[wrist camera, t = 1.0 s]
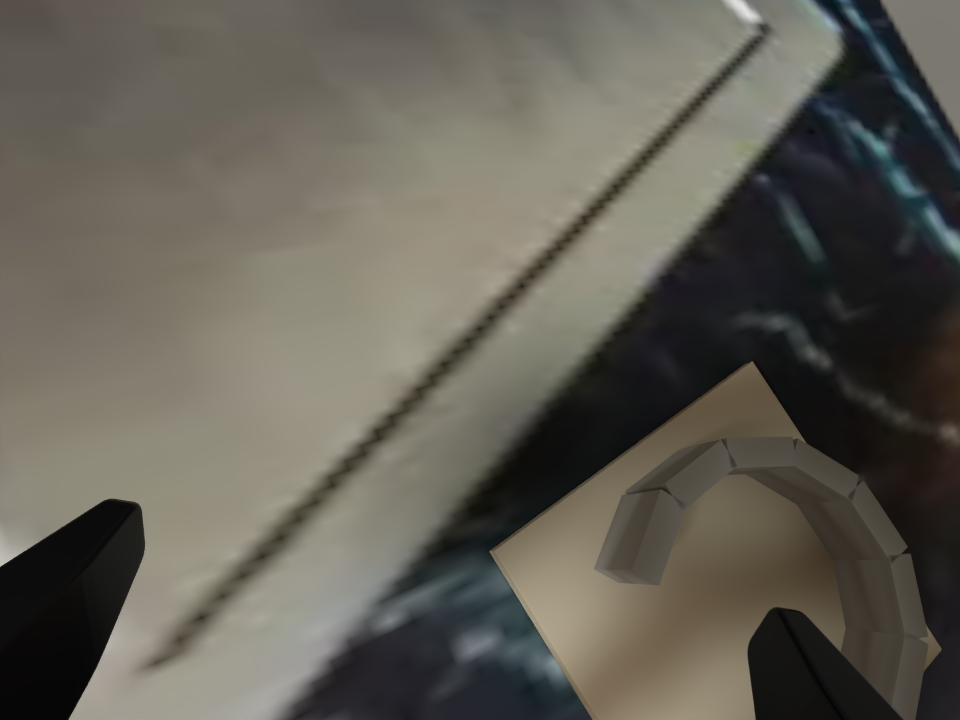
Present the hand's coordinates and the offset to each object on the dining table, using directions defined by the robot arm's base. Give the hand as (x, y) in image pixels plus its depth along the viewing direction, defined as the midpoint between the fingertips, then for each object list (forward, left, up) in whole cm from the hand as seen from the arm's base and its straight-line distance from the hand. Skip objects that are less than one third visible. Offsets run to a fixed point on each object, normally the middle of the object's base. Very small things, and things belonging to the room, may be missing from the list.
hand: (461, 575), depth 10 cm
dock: (-9, -11, -12) cm, 18 cm away
